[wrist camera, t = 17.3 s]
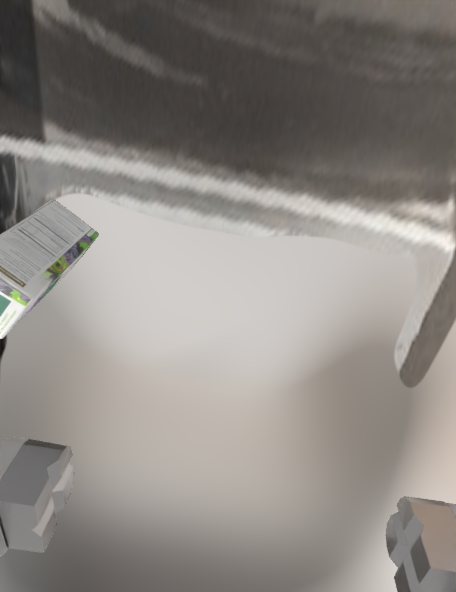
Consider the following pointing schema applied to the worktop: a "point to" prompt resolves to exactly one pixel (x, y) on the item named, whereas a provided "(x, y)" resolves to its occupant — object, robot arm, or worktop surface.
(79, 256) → the syrup box
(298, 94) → the worktop surface
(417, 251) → the worktop surface
